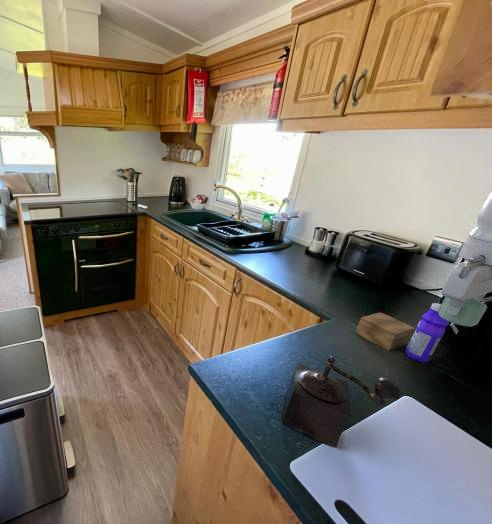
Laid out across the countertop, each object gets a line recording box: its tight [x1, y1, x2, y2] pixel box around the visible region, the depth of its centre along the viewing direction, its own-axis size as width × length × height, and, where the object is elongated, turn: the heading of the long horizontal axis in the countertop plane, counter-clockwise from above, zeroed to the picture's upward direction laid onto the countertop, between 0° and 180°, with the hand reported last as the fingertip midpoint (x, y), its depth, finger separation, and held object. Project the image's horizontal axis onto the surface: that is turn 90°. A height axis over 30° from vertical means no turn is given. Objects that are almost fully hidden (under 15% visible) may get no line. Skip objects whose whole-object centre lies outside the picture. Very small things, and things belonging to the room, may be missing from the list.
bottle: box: [404, 302, 450, 364], centre depth 84 cm, size 7×6×17 cm
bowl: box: [438, 296, 488, 328], centre depth 66 cm, size 6×6×5 cm
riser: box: [354, 311, 416, 352], centre depth 94 cm, size 10×11×6 cm
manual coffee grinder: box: [280, 355, 402, 448], centre depth 59 cm, size 16×11×18 cm
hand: (460, 310), depth 66 cm, fingers closed on bowl, 6 cm apart
